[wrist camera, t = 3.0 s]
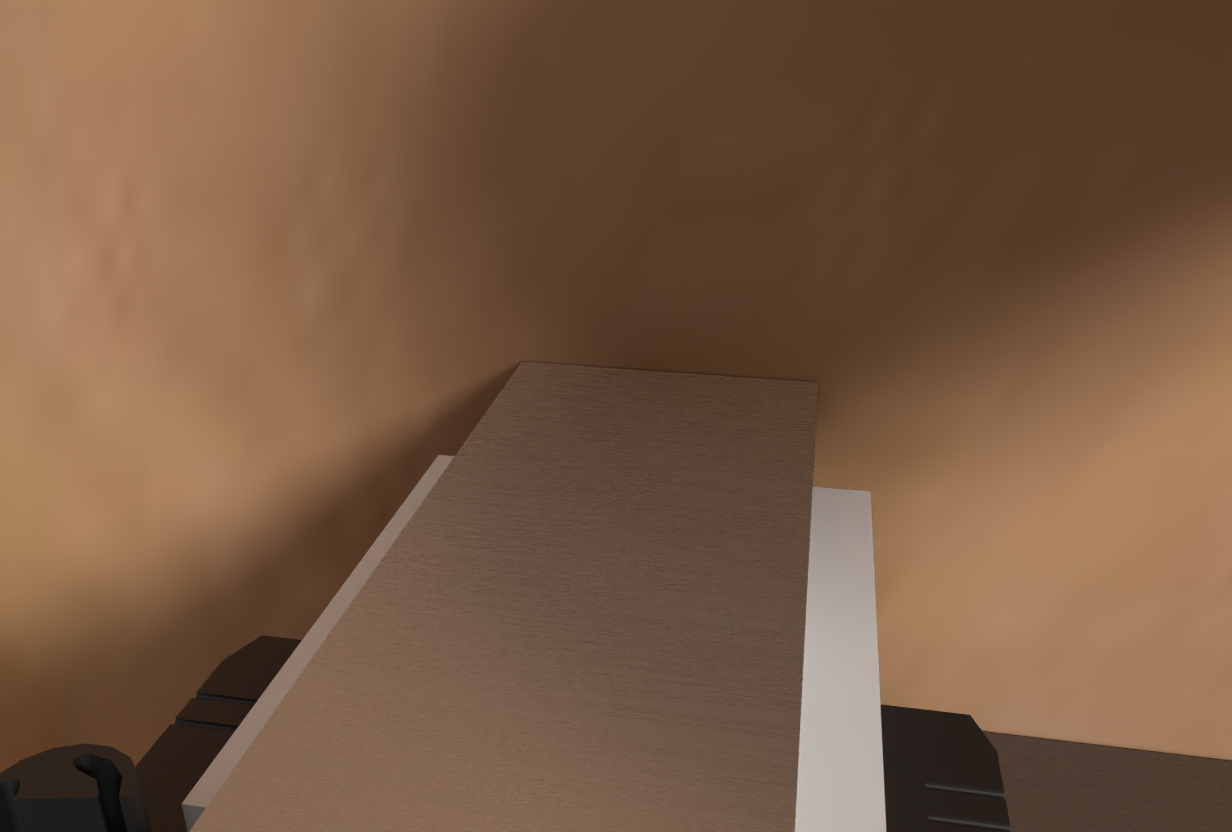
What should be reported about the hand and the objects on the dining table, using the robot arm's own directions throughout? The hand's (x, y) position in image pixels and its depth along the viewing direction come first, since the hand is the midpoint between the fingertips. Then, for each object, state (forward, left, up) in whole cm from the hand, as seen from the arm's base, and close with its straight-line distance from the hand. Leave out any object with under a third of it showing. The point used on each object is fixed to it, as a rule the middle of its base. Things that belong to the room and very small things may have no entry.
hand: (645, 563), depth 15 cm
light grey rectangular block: (0, 0, -2) cm, 2 cm away
